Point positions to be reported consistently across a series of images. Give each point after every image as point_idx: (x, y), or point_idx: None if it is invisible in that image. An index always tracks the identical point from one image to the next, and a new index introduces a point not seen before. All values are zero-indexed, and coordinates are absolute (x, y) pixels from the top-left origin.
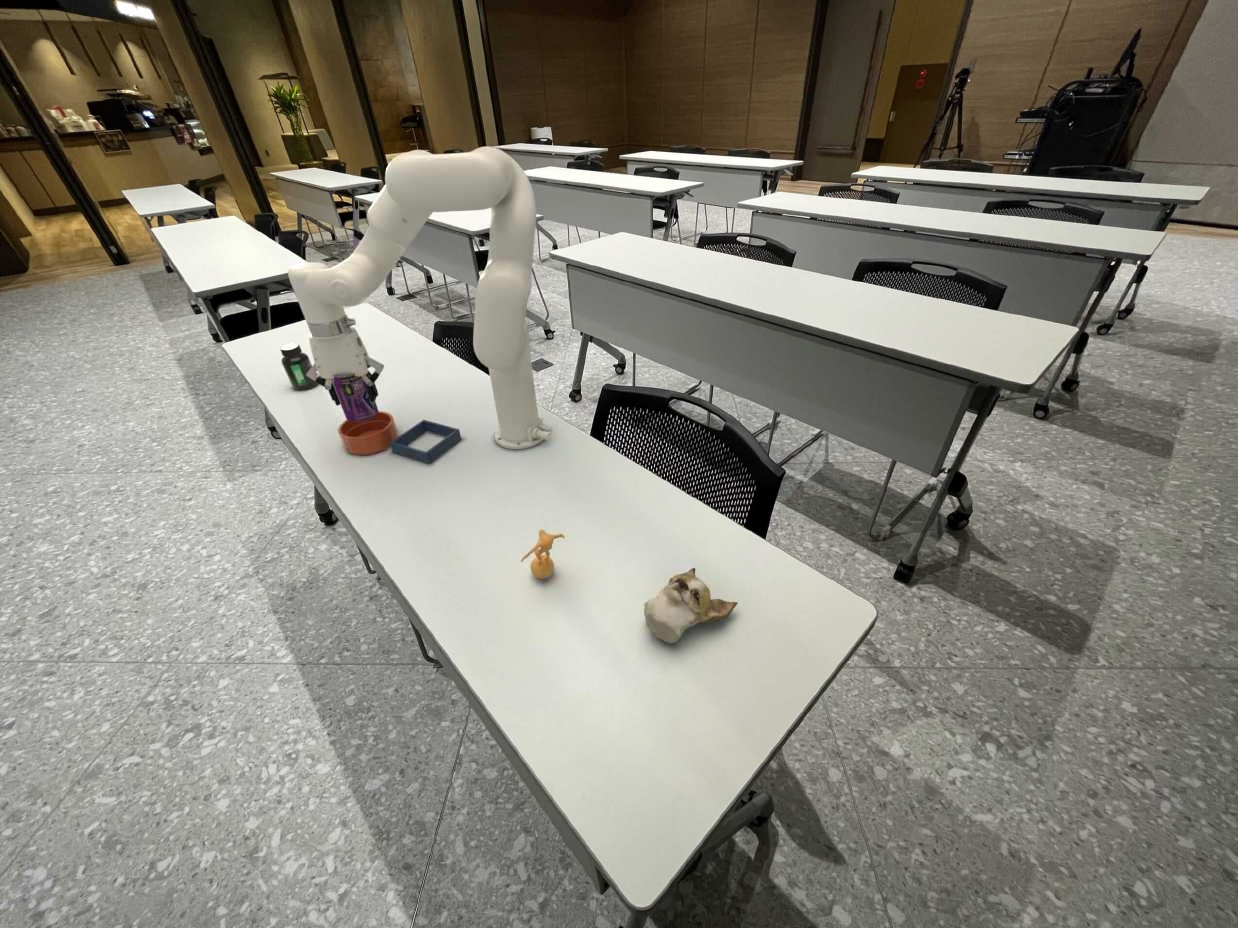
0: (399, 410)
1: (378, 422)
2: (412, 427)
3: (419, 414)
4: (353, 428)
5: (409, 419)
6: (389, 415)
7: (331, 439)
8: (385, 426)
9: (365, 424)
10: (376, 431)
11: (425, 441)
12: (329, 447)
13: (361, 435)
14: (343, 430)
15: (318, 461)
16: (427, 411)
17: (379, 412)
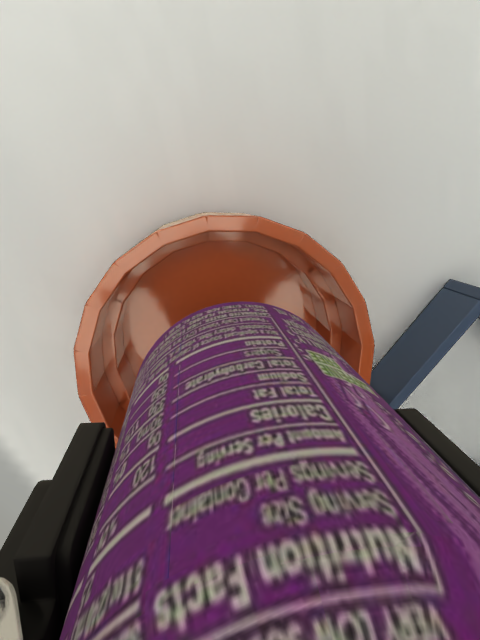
0: (313, 13)
1: (252, 243)
2: (434, 356)
3: (422, 105)
4: (130, 293)
5: (373, 150)
6: (351, 295)
7: (4, 268)
8: (281, 256)
9: (182, 248)
10: (229, 260)
11: (439, 370)
12: (25, 341)
13: (160, 282)
14: (97, 359)
15: (20, 441)
16: (463, 80)
17: (287, 242)
